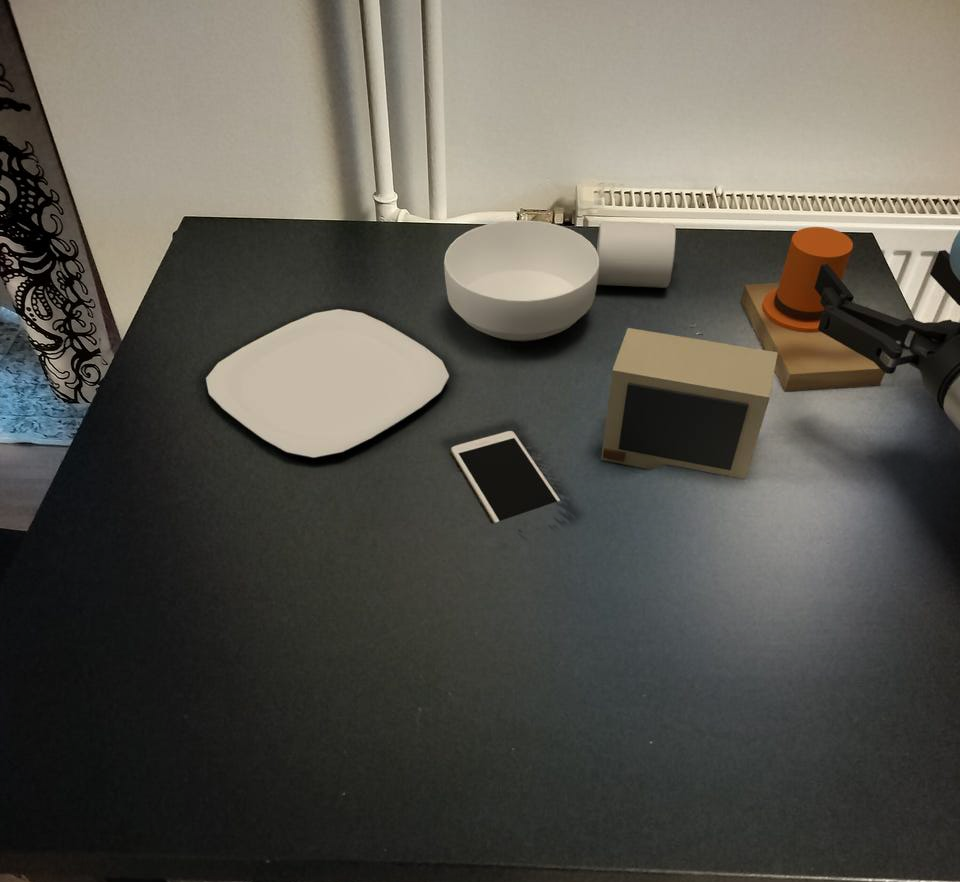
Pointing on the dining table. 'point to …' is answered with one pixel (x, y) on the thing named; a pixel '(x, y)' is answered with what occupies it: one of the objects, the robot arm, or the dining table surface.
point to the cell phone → (504, 475)
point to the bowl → (521, 278)
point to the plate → (326, 382)
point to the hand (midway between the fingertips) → (879, 268)
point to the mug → (635, 253)
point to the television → (686, 403)
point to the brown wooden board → (807, 351)
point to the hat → (806, 278)
